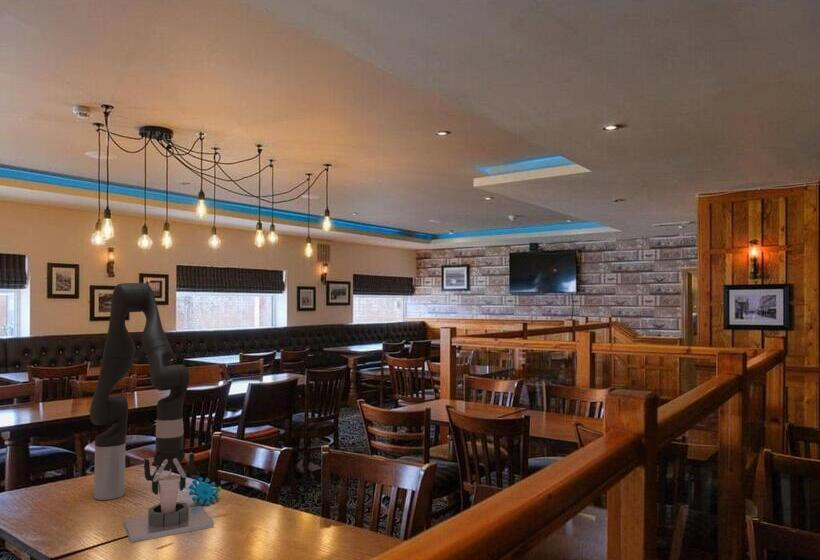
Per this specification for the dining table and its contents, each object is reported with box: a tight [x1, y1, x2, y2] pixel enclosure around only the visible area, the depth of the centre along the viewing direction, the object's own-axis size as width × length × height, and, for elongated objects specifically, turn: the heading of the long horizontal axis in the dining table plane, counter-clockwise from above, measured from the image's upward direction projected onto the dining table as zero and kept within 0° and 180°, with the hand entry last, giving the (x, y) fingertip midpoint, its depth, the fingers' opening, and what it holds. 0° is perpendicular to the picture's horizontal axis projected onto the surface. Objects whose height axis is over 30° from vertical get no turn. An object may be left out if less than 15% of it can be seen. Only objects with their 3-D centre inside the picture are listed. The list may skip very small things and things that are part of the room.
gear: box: [188, 477, 222, 507], centre depth 197 cm, size 11×6×10 cm
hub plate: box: [122, 501, 215, 544], centre depth 176 cm, size 16×22×5 cm
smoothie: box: [157, 469, 181, 513], centre depth 176 cm, size 6×6×14 cm
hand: (168, 491), depth 176 cm, fingers closed on smoothie, 6 cm apart
